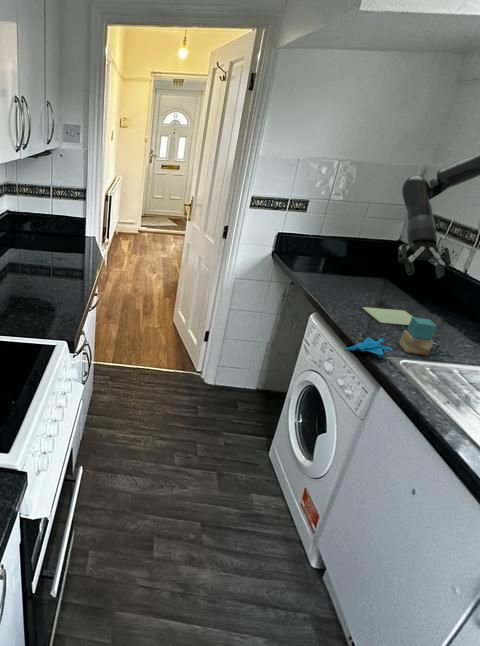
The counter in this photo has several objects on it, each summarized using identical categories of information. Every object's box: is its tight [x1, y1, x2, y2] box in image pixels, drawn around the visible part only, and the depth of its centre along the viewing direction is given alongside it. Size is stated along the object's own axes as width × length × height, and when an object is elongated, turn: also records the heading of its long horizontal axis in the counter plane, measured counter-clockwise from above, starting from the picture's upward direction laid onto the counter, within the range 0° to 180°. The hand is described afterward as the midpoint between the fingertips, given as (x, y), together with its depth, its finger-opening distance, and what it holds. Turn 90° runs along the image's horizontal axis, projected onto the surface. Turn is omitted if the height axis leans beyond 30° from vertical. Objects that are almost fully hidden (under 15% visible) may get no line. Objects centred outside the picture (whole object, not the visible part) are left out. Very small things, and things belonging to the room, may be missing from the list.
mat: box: [361, 306, 414, 326], centre depth 156 cm, size 16×14×1 cm
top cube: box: [406, 316, 438, 340], centre depth 130 cm, size 5×5×5 cm
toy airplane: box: [343, 337, 394, 360], centre depth 127 cm, size 12×10×4 cm
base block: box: [398, 329, 434, 356], centre depth 132 cm, size 6×6×5 cm
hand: (425, 276), depth 133 cm, fingers open, 8 cm apart
